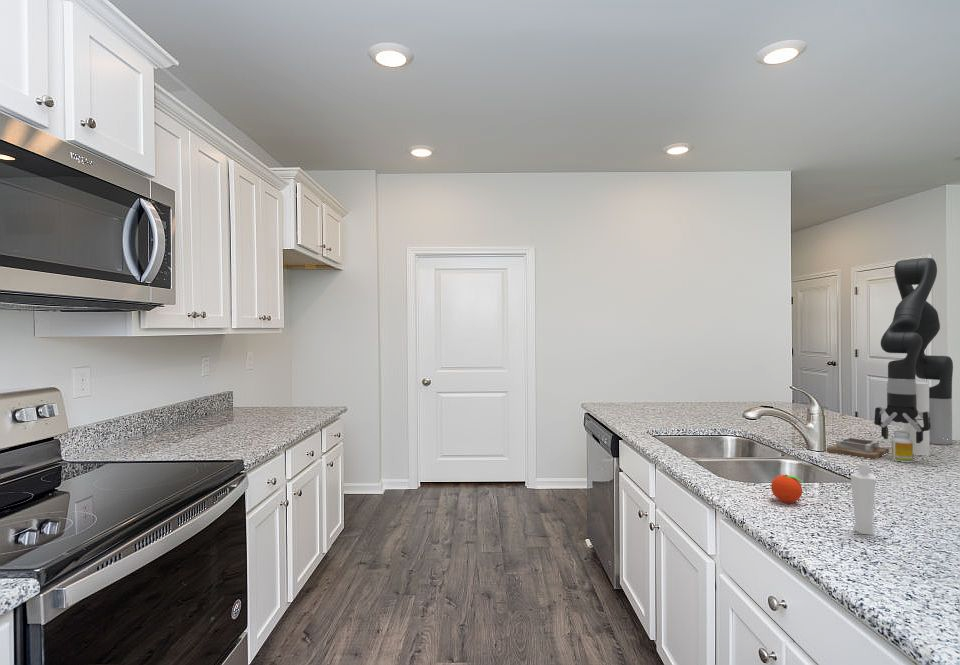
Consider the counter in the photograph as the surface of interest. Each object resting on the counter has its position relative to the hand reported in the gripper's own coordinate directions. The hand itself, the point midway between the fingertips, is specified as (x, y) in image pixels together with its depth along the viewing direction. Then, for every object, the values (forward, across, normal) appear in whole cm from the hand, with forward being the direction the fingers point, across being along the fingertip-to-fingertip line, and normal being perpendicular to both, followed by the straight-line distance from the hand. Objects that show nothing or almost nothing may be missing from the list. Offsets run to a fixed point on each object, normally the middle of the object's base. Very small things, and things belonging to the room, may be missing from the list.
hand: (901, 440), depth 167 cm
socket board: (+7, +13, -2) cm, 15 cm away
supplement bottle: (+7, 0, 0) cm, 7 cm away
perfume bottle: (+8, -12, +78) cm, 79 cm away
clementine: (+8, +6, +71) cm, 71 cm away
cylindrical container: (+7, 0, -16) cm, 17 cm away
